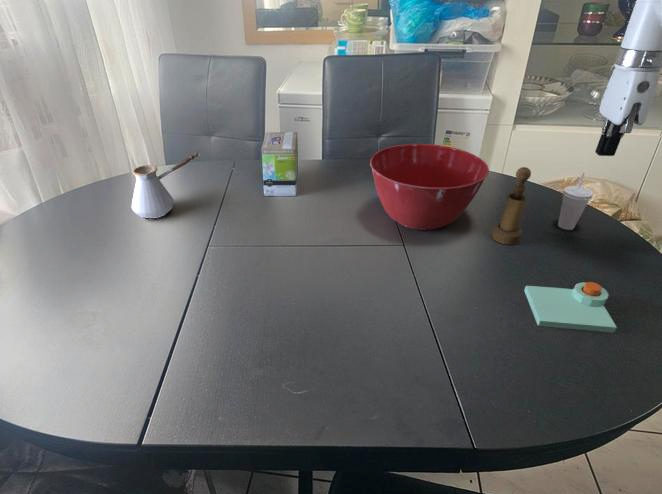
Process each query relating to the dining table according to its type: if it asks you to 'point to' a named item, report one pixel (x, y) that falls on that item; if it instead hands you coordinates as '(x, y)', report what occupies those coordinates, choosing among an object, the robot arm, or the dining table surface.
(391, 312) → the dining table surface
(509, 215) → the mortar and pestle
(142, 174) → the coffee pot
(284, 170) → the tea box
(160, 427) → the dining table surface
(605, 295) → the mint green button board
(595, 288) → the button
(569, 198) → the smoothie
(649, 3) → the robot arm
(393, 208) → the mixing bowl
